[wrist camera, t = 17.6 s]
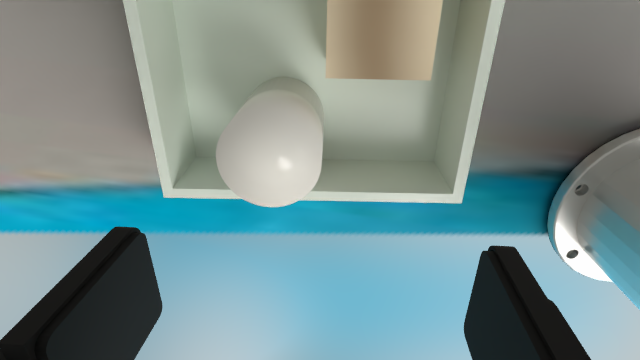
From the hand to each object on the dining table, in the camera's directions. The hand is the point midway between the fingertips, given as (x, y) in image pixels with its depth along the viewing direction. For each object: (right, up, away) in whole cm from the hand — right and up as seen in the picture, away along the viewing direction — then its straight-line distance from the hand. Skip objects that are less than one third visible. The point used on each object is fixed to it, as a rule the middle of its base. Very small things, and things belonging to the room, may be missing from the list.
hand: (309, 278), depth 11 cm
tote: (0, +10, +13) cm, 16 cm away
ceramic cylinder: (-2, +7, +13) cm, 15 cm away
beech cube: (+3, +12, +11) cm, 16 cm away
